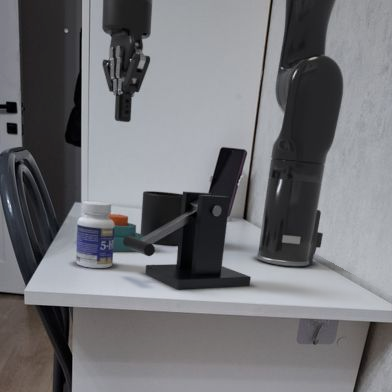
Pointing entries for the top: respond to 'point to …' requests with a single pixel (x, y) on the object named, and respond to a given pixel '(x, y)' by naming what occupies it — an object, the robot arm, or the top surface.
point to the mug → (160, 214)
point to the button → (119, 219)
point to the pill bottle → (95, 236)
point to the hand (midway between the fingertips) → (122, 121)
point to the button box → (121, 233)
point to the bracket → (201, 248)
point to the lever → (160, 232)
